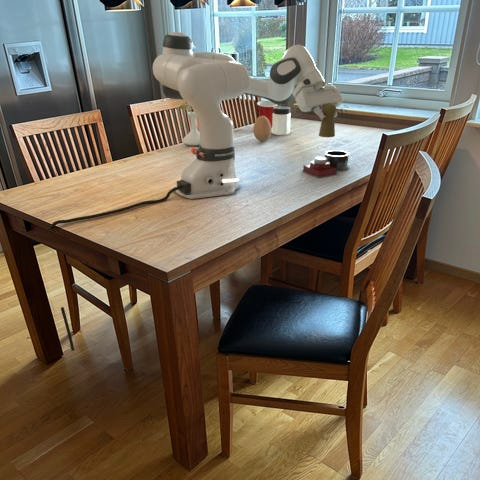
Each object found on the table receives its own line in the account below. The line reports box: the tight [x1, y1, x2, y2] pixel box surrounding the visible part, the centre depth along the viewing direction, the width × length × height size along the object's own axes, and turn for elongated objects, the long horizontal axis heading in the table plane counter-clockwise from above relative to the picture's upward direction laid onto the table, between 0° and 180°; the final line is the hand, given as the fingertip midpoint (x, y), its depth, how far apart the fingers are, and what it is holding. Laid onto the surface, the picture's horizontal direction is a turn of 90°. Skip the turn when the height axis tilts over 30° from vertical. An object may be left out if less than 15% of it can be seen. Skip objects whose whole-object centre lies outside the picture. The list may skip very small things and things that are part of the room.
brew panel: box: [302, 159, 337, 178], centre depth 183 cm, size 8×10×4 cm
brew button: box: [313, 156, 326, 164], centre depth 182 cm, size 4×4×2 cm
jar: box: [271, 105, 292, 136], centre depth 238 cm, size 9×8×12 cm
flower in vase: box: [178, 99, 201, 147], centre depth 217 cm, size 13×11×25 cm
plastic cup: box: [256, 100, 278, 129], centre depth 251 cm, size 11×11×12 cm
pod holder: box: [324, 149, 350, 172], centre depth 188 cm, size 9×9×6 cm
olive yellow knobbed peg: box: [318, 104, 337, 138], centre depth 181 cm, size 6×6×11 cm
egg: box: [253, 115, 272, 142], centre depth 225 cm, size 8×8×11 cm
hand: (329, 117), depth 180 cm, fingers closed on olive yellow knobbed peg, 5 cm apart
